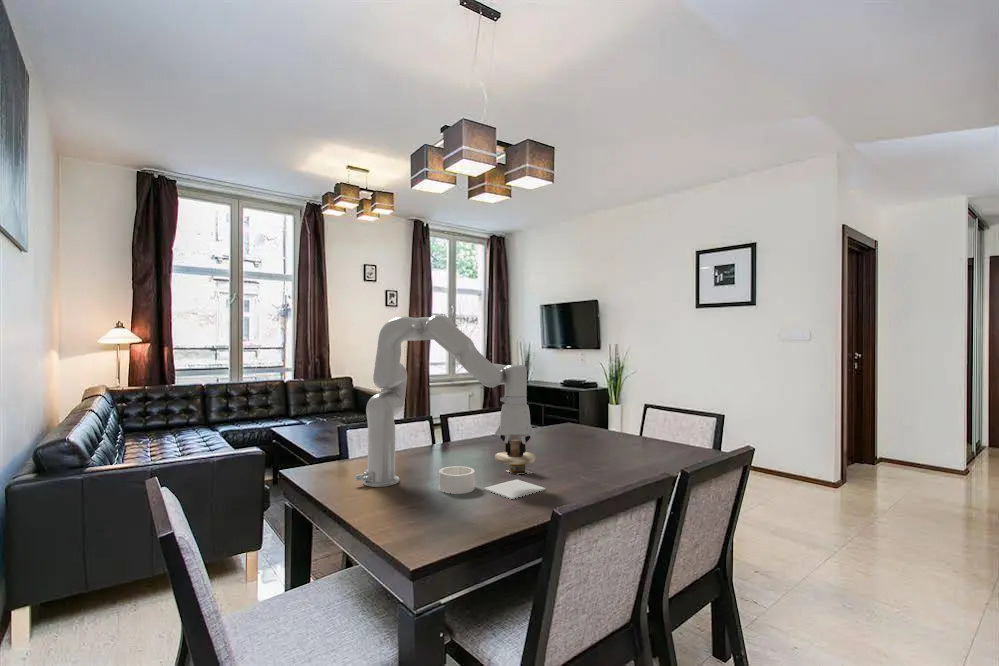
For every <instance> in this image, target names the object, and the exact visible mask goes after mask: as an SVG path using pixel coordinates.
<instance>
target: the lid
mask: <svg viewBox="0 0 999 666" xmlns="http://www.w3.org/2000/svg"><path fill="white" fill-rule="evenodd" d="M520 440H521V439H509V442H510V455H507V452H505V451H500V452H497V453H495V454H494V461H496V462H497V463H500V464H505V465H510V464H525V465H527V464H528V465H529V464H532V463H534V462H535V463H536V460H537V456H536V454H535V453H532V452H528V451H526V452H525V453H523V456H521V441H520Z"/></svg>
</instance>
